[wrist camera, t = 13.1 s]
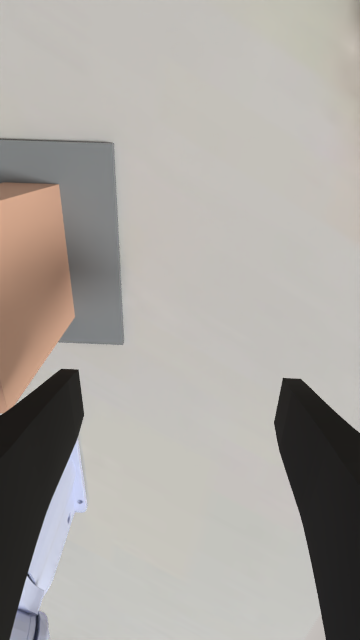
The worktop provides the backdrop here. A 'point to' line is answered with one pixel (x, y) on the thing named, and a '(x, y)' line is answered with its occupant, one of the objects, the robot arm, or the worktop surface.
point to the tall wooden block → (31, 283)
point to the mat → (80, 226)
